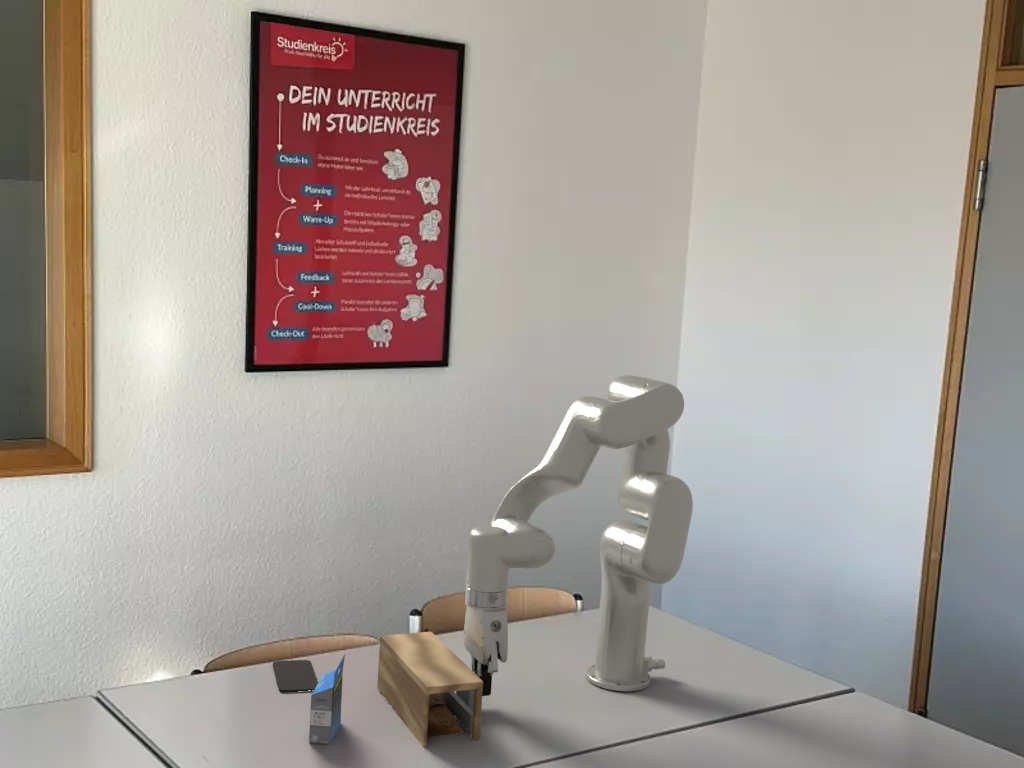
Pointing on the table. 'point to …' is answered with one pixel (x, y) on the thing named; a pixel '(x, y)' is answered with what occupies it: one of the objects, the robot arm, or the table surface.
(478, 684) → the oak counter
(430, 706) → the sunglasses case
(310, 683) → the phone
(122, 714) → the table surface
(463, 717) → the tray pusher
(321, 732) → the blue cardboard box
